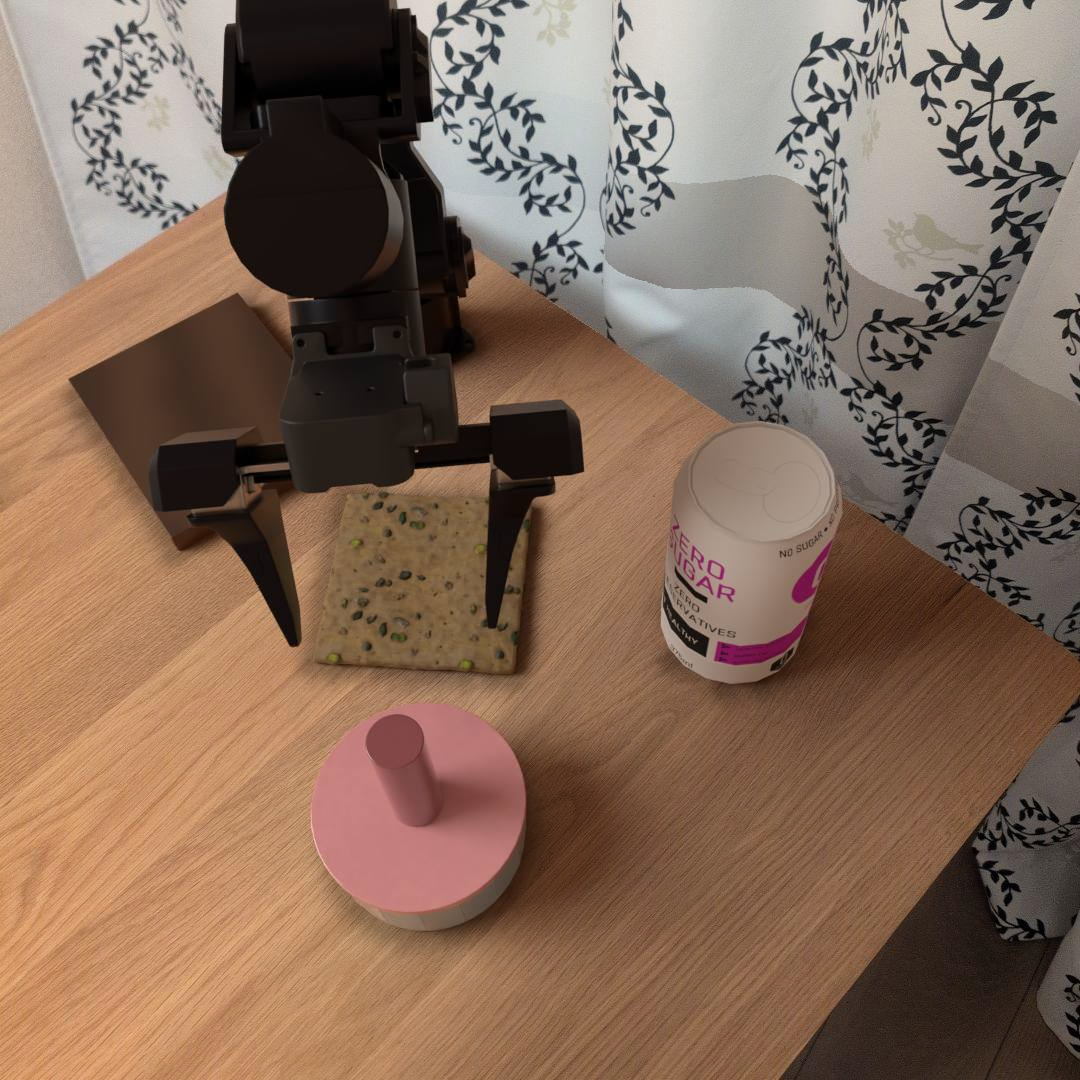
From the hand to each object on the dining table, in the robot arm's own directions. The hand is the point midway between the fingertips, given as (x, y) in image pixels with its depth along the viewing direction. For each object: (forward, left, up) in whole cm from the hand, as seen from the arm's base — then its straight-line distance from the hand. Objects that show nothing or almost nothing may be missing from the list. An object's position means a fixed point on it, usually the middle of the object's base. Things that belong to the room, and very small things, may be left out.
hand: (394, 635), depth 54 cm
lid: (+3, +5, -8) cm, 10 cm away
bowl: (+3, +5, -13) cm, 14 cm away
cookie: (-5, -9, -13) cm, 16 cm away
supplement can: (-18, +5, -13) cm, 23 cm away
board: (-1, -28, -13) cm, 31 cm away
